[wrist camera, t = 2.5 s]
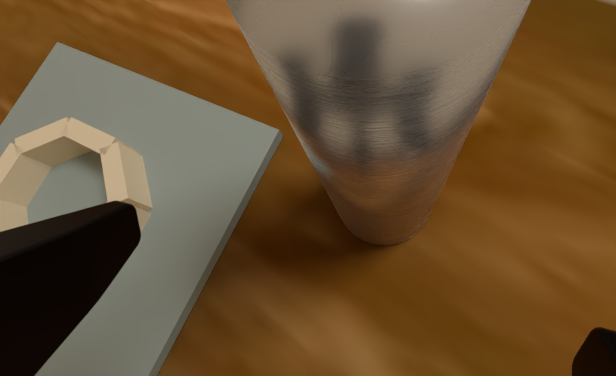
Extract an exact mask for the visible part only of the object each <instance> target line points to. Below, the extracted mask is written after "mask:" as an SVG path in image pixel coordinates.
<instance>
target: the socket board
mask: <svg viewBox="0 0 616 376" xmlns="http://www.w3.org/2000/svg"><path fill="white" fill-rule="evenodd" d="M282 138H283V135H282V134H281V132H280V131H279V130H278V129H275V128H273V127H270V126H268V125H265V124H263V123H260V122H258V121H255V120H253V119H250V118H248V117H245V116H243V115H240V114H238V113H235V112H233V111H230V110H228V109H225V108H223V107H220V106H217V105H215V104H212V103H210V102H207V101H205V100H202V99H200V98H197V97H195V96H192V95H190V94H187V93H185V92H182V91H180V90H177V89H175V88H172V87H170V86H167V85H165V84H162V83H159V82H157V81H154V80H152V79H149V78H147V77H144V76H142V75H139V74H137V73H134V72H132V71H129V70H127V69H124V68H122V67H119V66H117V65H114V64H112V63H109V62H107V61H104V60H101V59H99V58H96V57H94V56H91V55H89V54H86V53H84V52H81V51H79V50H76V49H74V48H71V47H69V46H66V45H64V44H61V43H59V42H57V43H56V45H55V46H54V48H53V49H52V51H51V52H50V53H49V55H48V56H47V58H46V59H45V61H44V62H43V64H42V65H41V67H40V68H39V70H38V71H37V73H36V74H35V76H34V77H33V79H32V80H31V81H30V83H29V84H28V86H27V87H26V89H25V90H24V92H23V93H22V95H21V96H20V98H19V99H18V101H17V102H16V104H15V105H14V107H13V108H12V109H11V111H10V112H9V114H8V115H7V117H6V118H5V120H4V121H3V123H2V124H1V126H0V232H1V231H5V230H9V229H12V228H16V227H20V226H23V225H27V224H31V223H34V222H38V221H42V220H45V219H49V218H53V217H56V216H60V215H63V214H67V213H71V212H74V211H78V210H82V209H85V208H89V207H93V206H96V205H100V204H104V203H107V202H111V201H122V202H126V203H129V204H132V205H133V206H134V207H135V208H136V211H137V216H138V221H139V226H140V231H141V239H140V242H139V244H138V246H137V247H136V249H135V250H134V252H133V253H132V254H131V256H130V257H129V259H128V260H127V262H126V263H125V264H124V266H123V267H122V269H121V270H120V271H119V273H118V274H117V276H116V277H115V279H114V280H113V281H112V283H111V284H110V286H109V287H108V288H107V290H106V291H105V293H104V294H103V295H102V297H101V298H100V299H99V301H98V302H97V303H96V304H95V306H94V307H93V308H92V309H91V310H90V312H89V313H88V314H87V315H86V316H85V317H84V319H83V320H82V321H81V322H80V323H79V324H78V326H77V327H76V328H75V329H74V330H73V331H72V333H71V334H70V335H69V336H68V337H67V338H66V340H65V341H64V342H63V343H62V344H61V345H60V347H59V348H58V349H57V350H56V351H55V353H54V354H53V355H52V356H51V357H50V358H49V360H48V361H47V362H46V363H45V364H44V365H43V367H42V368H41V369H40V370H39V371H38V372H37V374H36V375H35V376H157V374H158V372H159V371H160V369H161V367H162V365H163V363H164V361H165V359H166V357H167V355H168V354H169V352H170V350H171V348H172V346H173V344H174V342H175V340H176V338H177V336H178V335H179V333H180V331H181V329H182V327H183V325H184V323H185V321H186V319H187V318H188V316H189V314H190V312H191V310H192V308H193V306H194V304H195V302H196V301H197V299H198V297H199V295H200V293H201V291H202V289H203V287H204V285H205V283H206V282H207V280H208V278H209V276H210V274H211V272H212V270H213V268H214V266H215V265H216V263H217V261H218V259H219V257H220V255H221V253H222V251H223V249H224V247H225V246H226V244H227V242H228V240H229V238H230V236H231V234H232V232H233V230H234V229H235V227H236V225H237V223H238V221H239V219H240V217H241V215H242V213H243V211H244V210H245V208H246V206H247V204H248V202H249V200H250V198H251V196H252V194H253V193H254V191H255V189H256V187H257V185H258V183H259V181H260V179H261V177H262V176H263V174H264V172H265V170H266V168H267V166H268V164H269V162H270V160H271V158H272V157H273V155H274V153H275V151H276V149H277V147H278V145H279V143H280V141H281V140H282Z"/></svg>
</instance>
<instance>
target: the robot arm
mask: <svg viewBox="0 0 616 376" xmlns="http://www.w3.org/2000/svg"><path fill="white" fill-rule="evenodd" d="M140 239H141V231H140V226H139V221H138V216H137V211H136V208H135V207H134V206H133V205H132V204H129V203H126V202H122V201H111V202H107V203H104V204H100V205H96V206H93V207H89V208H85V209H82V210H78V211H74V212H71V213H67V214H63V215H60V216H56V217H53V218H49V219H45V220H42V221H38V222H34V223H31V224H27V225H23V226H20V227H16V228H12V229H9V230H5V231H1V232H0V376H35V375H36V374H37V372H38V371H39V370H40V369H41V368H42V367H43V365H44V364H45V363H46V362H47V361H48V360H49V358H50V357H51V356H52V355H53V354H54V353H55V351H56V350H57V349H58V348H59V347H60V345H61V344H62V343H63V342H64V341H65V340H66V338H67V337H68V336H69V335H70V334H71V333H72V331H73V330H74V329H75V328H76V327H77V326H78V324H79V323H80V322H81V321H82V320H83V319H84V317H85V316H86V315H87V314H88V313H89V312H90V310H91V309H92V308H93V307H94V306H95V304H96V303H97V302H98V301H99V299H100V298H101V297H102V295H103V294H104V293H105V291H106V290H107V288H108V287H109V286H110V284H111V283H112V281H113V280H114V279H115V277H116V276H117V274H118V273H119V271H120V270H121V269H122V267H123V266H124V264H125V263H126V262H127V260H128V259H129V257H130V256H131V254H132V253H133V252H134V250H135V249H136V247H137V246H138V244H139V242H140ZM572 376H616V331H613V330H609V329H605V328H602V327H597V328H594V329H593V330H592V331H591V332H590V333H589V335H588V336H587V338H586V340H585V341H584V343H583V344H582V346H581V348H580V349H579V351H578V352H577V354H576V356H575V358H574V360H573V364H572Z"/></svg>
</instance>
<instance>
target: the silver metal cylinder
mask: <svg viewBox="0 0 616 376" xmlns="http://www.w3.org/2000/svg"><path fill="white" fill-rule="evenodd" d="M226 1H227V3H228V6H229V8H230V10H231V13H232V15H233V16H234V18H235V20H236V22H237V24H238V26H239V28H240V30H241V31H242V33H243V35H244V37H245V39H246V41H247V43H248V45H249V47H250V48H251V50H252V52H253V54H254V56H255V58H256V60H257V62H258V64H259V65H260V67H261V69H262V71H263V73H264V75H265V77H266V79H267V81H268V82H269V84H270V86H271V88H272V90H273V92H274V94H275V96H276V97H277V99H278V101H279V103H280V105H281V107H282V109H283V111H284V113H285V114H286V116H287V118H288V120H289V122H290V124H291V126H292V128H293V130H294V131H295V133H296V135H297V137H298V139H299V141H300V143H301V145H302V147H303V148H304V150H305V152H306V154H307V156H308V158H309V160H310V162H311V163H312V165H313V167H314V169H315V171H316V173H317V175H318V177H319V179H320V180H321V182H322V184H323V186H324V188H325V190H326V192H327V194H328V196H329V197H330V199H331V201H332V203H333V205H334V207H335V209H336V211H337V213H338V214H339V216H340V218H341V220H342V222H343V223H344V225H345V226H346V228H347V229H348V230H349V231H350V232H351V233H352V234H353V235H355V236H356V237H357V238H359V239H361V240H363V241H365V242H367V243H370V244H374V245H382V246H384V245H395V244H398V243H402V242H404V241H406V240H408V239H410V238H412V237H413V236H414V235H416V234H417V233H418V232H419V231H420V230H421V229H422V227H423V226H424V225H425V223H426V221H427V219H428V218H429V215H430V213H431V211H432V209H433V207H434V205H435V203H436V201H437V198H438V196H439V194H440V192H441V190H442V188H443V186H444V184H445V182H446V179H447V177H448V175H449V173H450V171H451V169H452V167H453V165H454V162H455V160H456V158H457V156H458V154H459V152H460V150H461V148H462V146H463V143H464V141H465V139H466V137H467V135H468V133H469V131H470V129H471V126H472V124H473V122H474V120H475V118H476V116H477V114H478V112H479V110H480V107H481V105H482V103H483V101H484V99H485V97H486V95H487V93H488V90H489V88H490V86H491V84H492V82H493V80H494V78H495V76H496V74H497V71H498V69H499V67H500V65H501V63H502V61H503V59H504V57H505V54H506V52H507V50H508V48H509V46H510V44H511V42H512V40H513V38H514V35H515V33H516V31H517V29H518V27H519V25H520V23H521V21H522V18H523V16H524V14H525V12H526V10H527V8H528V6H529V4H530V2H531V0H226Z"/></svg>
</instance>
